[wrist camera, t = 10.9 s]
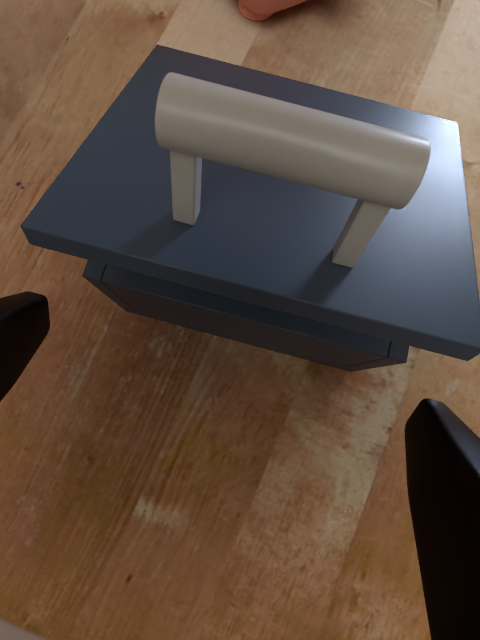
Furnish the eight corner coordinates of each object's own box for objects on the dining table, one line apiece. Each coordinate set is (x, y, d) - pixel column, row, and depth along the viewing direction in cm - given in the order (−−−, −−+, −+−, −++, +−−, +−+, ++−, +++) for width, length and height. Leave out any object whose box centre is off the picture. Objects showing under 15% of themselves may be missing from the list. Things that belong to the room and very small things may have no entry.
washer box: (351, 371, 22) (406, 363, 15) (125, 311, 22) (81, 275, 15) (384, 208, 24) (447, 137, 17) (177, 154, 24) (159, 62, 17)
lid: (467, 362, 11) (633, 259, 7) (29, 244, 11) (-61, 78, 7) (447, 138, 17) (531, 11, 13) (157, 63, 17) (148, -86, 13)
